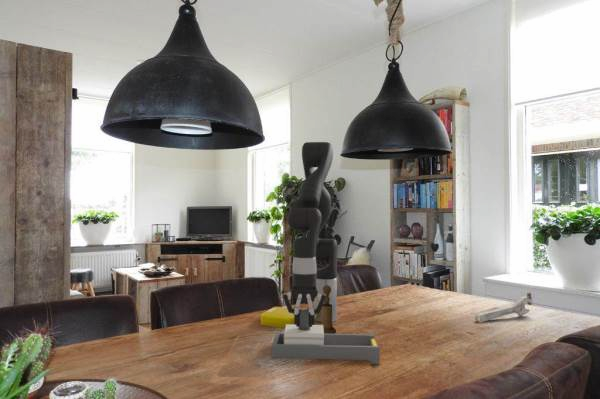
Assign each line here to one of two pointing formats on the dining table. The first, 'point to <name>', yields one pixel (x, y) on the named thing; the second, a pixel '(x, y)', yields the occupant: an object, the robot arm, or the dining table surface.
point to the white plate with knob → (304, 331)
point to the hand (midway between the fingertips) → (304, 325)
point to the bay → (331, 348)
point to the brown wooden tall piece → (327, 313)
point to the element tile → (277, 317)
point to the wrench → (506, 310)
